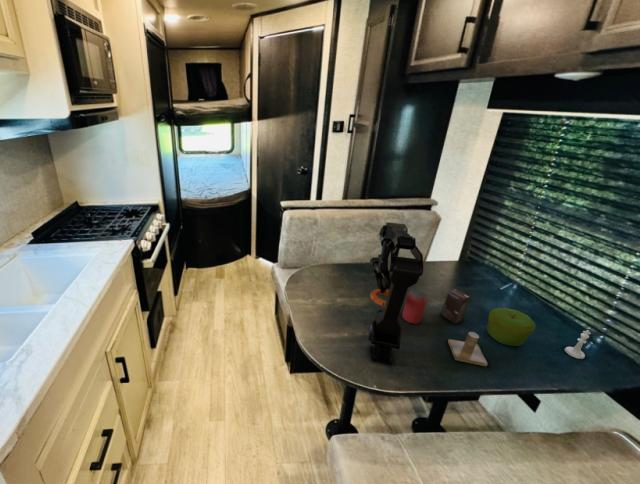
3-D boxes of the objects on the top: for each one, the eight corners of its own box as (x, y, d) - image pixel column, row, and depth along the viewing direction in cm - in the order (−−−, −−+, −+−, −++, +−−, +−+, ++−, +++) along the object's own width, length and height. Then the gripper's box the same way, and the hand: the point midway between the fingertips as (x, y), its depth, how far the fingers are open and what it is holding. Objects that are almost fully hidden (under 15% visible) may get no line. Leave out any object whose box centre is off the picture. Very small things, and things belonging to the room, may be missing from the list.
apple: (512, 329, 117) (523, 304, 113) (534, 353, 106) (548, 327, 102) (475, 325, 119) (485, 301, 115) (493, 349, 108) (505, 323, 104)
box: (440, 315, 125) (448, 290, 120) (447, 312, 126) (456, 287, 121) (454, 324, 120) (463, 299, 115) (462, 321, 121) (471, 296, 116)
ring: (401, 307, 112) (402, 303, 112) (375, 306, 113) (376, 302, 112) (392, 292, 121) (393, 289, 120) (367, 291, 122) (368, 288, 121)
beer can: (418, 326, 119) (426, 301, 114) (400, 319, 122) (406, 294, 117) (421, 317, 124) (429, 292, 118) (403, 311, 127) (410, 286, 122)
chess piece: (586, 361, 103) (601, 338, 99) (566, 355, 106) (580, 332, 101) (582, 351, 107) (595, 328, 103) (562, 345, 109) (575, 323, 105)
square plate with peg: (486, 366, 102) (495, 347, 98) (455, 360, 104) (462, 341, 101) (477, 346, 109) (484, 328, 106) (447, 341, 112) (454, 323, 108)
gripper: (423, 269, 105) (413, 307, 111) (402, 245, 121) (394, 279, 128) (389, 268, 105) (381, 305, 112) (372, 244, 122) (366, 278, 129)
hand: (381, 291), depth 120 cm, fingers closed on ring, 1 cm apart
